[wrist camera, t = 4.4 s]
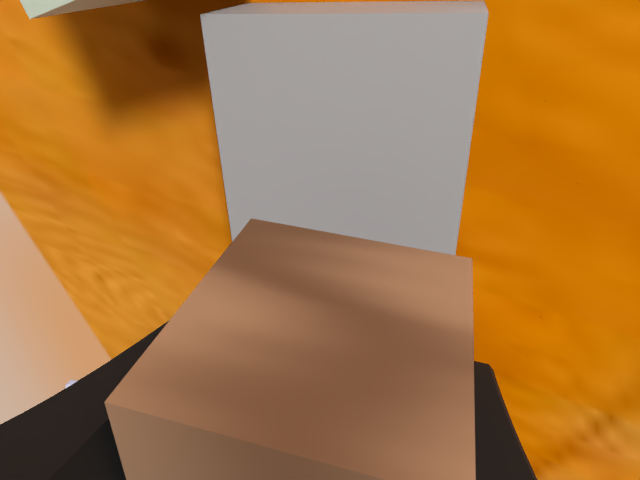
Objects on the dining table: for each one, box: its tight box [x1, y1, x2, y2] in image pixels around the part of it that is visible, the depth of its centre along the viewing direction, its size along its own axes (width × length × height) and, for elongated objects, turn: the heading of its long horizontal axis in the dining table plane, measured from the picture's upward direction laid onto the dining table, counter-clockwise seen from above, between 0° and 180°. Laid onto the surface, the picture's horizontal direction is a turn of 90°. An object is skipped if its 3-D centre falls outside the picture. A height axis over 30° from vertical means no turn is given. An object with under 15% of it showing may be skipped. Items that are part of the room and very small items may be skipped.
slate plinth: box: [200, 1, 488, 255], centre depth 15 cm, size 7×7×4 cm
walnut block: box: [104, 218, 476, 480], centre depth 9 cm, size 5×5×5 cm
